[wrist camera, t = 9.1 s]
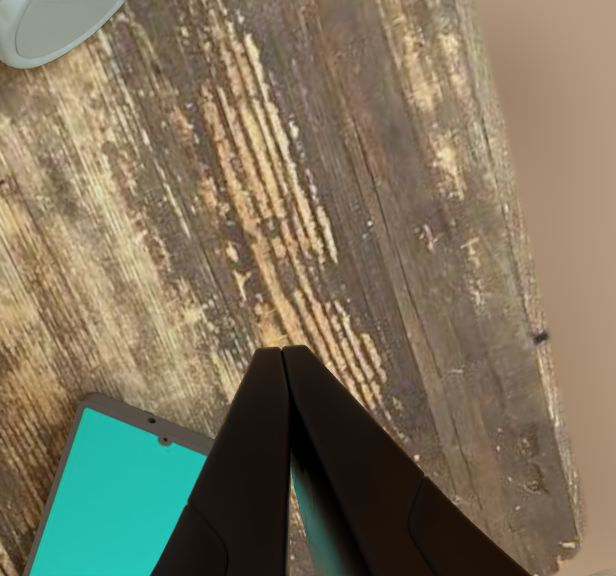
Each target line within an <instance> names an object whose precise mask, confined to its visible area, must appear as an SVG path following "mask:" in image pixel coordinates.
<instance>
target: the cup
mask: <svg viewBox="0 0 616 576" xmlns="http://www.w3.org/2000/svg"><path fill="white" fill-rule="evenodd" d="M125 1H126V0H0V60H1V61H2V62H4V63H5V64H7V65H9V66H11V67H14V68H19V69H28V68H34V67H38V66H41V65H44V64H46V63H49V62H51V61H53V60H55V59H57V58H59V57H61V56H62V55H64V54H66V53H68V52H69V51H71V50H72V49H74V48H75V47H76V46H78V45H79V44H81V43H82V42H83V41H85V40H86V39H87V38H89V37H90V36H91V35H93V34H94V33H95V32H96V31H97V30H98V29H99V28H100V27H101V26H102V25H103V24H105V23H106V22H107V21H108V20H109V19H110V18H111V17H112V16H113V14H114V13H115V12H116V11H117V10H118V9H119V8H120V7H121V6H122V4H123V3H124V2H125Z"/></svg>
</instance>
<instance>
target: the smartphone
mask: <svg viewBox="0 0 616 576" xmlns="http://www.w3.org/2000/svg"><path fill="white" fill-rule="evenodd" d="M213 443H214V440H213V439H210V438H208V437H205V436H203V435H201V434H198V433H196V432H193V431H191V430H188V429H186V428H183V427H181V426H179V425H176V424H174V423H171V422H169V421H166V420H164V419H161V418H159V417H156V416H154V415H152V414H149V413H147V412H144V411H142V410H139V409H137V408H134V407H132V406H130V405H127V404H125V403H122V402H120V401H117V400H115V399H112V398H110V397H108V396H105V395H103V394H100V393H98V392H91V393H89V394H88V395H87V396H86V397H85V398H84V399H83V400H82V401H81V403H80V404H79V405H78V407H77V410H76V413H75V416H74V419H73V422H72V426H71V429H70V432H69V435H68V438H67V441H66V444H65V447H64V450H63V453H62V456H61V459H60V462H59V465H58V468H57V471H56V475H55V478H54V481H53V484H52V487H51V490H50V493H49V496H48V499H47V502H46V505H45V508H44V511H43V514H42V517H41V520H40V524H39V527H38V530H37V533H36V536H35V539H34V542H33V545H32V548H31V551H30V554H29V557H28V560H27V563H26V566H25V569H24V573H23V576H150V574H151V572H152V571H153V569H154V567H155V565H156V564H157V562H158V560H159V558H160V556H161V554H162V552H163V550H164V548H165V546H166V544H167V542H168V540H169V538H170V536H171V534H172V532H173V530H174V528H175V525H176V523H177V521H178V519H179V517H180V515H181V512H182V510H183V508H184V506H185V505H187V500H188V498H189V495H190V493H191V491H192V489H193V487H194V484H195V482H196V480H197V478H198V476H199V473H200V471H201V469H202V467H203V465H204V462H205V460H206V458H207V456H208V454H209V451H210V449H211V447H212V445H213Z"/></svg>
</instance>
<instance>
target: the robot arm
mask: <svg viewBox="0 0 616 576" xmlns="http://www.w3.org/2000/svg"><path fill="white" fill-rule="evenodd" d="M291 473H292V478H293V483H294V488H295V492H296V496H297V500H298V504H299V509H300V513H301V517H302V521H303V525H304V529H305V533H306V537H307V542H308V546H309V550H310V554H311V558H312V562H313V566H314V570H315V575H316V576H531V575H530V574H529V573H528V572H527V571H526V570H525V569H523V568H522V567H521V566H520V565H519V564H518V563H517V562H515V561H514V560H513V559H512V558H511V557H510V556H509V555H507V554H506V553H505V552H504V551H503V550H502V549H501V548H499V547H498V546H497V545H496V544H495V543H494V542H493V541H492V540H491V539H490V538H488V537H487V536H486V535H485V534H484V533H483V532H482V531H481V530H480V529H479V528H478V527H477V526H475V525H474V524H473V523H472V522H471V521H470V520H469V519H468V518H467V517H466V516H465V515H464V514H463V513H462V512H461V511H460V510H459V509H458V508H457V507H456V506H455V505H454V504H453V503H452V502H451V501H450V500H449V499H448V498H447V497H446V496H445V495H444V494H443V493H442V491H441V490H440V489H439V488H438V487H437V486H436V485H435V484H434V483H433V482H432V481H431V479H430V478H429V477H427V476H425V477H424V472H423V471H422V470H421V469H420V468H419V467H418V466H417V465H416V464H415V462H414V461H413V460H412V459H411V458H410V457H409V456H408V455H407V454H406V453H405V452H404V451H403V450H402V448H401V447H400V446H399V445H398V444H397V443H396V442H395V441H394V440H393V439H392V438H391V437H390V436H389V434H388V433H387V432H386V431H385V430H384V429H383V428H382V427H381V426H380V425H379V424H378V423H377V421H376V420H375V419H374V418H373V417H372V416H371V415H370V414H369V413H368V412H367V411H366V410H365V409H364V407H363V406H362V405H361V404H360V403H359V402H358V401H357V400H356V399H355V398H354V397H353V396H352V395H351V393H350V392H349V391H348V390H347V389H346V388H345V387H344V386H343V385H342V384H341V383H340V382H339V380H338V379H337V378H336V377H335V376H334V375H333V374H332V373H331V372H330V371H329V370H328V369H327V368H326V366H325V365H324V364H323V363H322V362H321V361H320V360H319V359H318V358H317V357H316V356H315V355H314V354H313V352H312V351H311V350H310V349H309V348H308V347H307V346H305V345H291V346H284V347H283V348H282V349H280V348H279V347H267V348H258V349H257V350H256V351H255V353H254V355H253V357H252V359H251V361H250V363H249V366H248V368H247V370H246V372H245V374H244V377H243V379H242V381H241V383H240V385H239V388H238V390H237V392H236V394H235V396H234V399H233V401H232V403H231V405H230V407H229V410H228V412H227V414H226V416H225V418H224V421H223V423H222V425H221V427H220V429H219V432H218V434H217V436H216V438H215V440H214V443H213V445H212V447H211V449H210V451H209V454H208V456H207V458H206V460H205V462H204V465H203V467H202V469H201V471H200V473H199V476H198V478H197V480H196V482H195V484H194V487H193V489H192V491H191V493H190V495H189V498H188V500H187V505H185V506H184V508H183V510H182V512H181V515H180V517H179V519H178V521H177V523H176V525H175V528H174V530H173V532H172V534H171V536H170V538H169V540H168V542H167V544H166V546H165V548H164V550H163V552H162V554H161V556H160V558H159V560H158V562H157V564H156V565H155V567H154V569H153V571H152V572H151V574H150V576H289V570H290V505H291Z"/></svg>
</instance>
